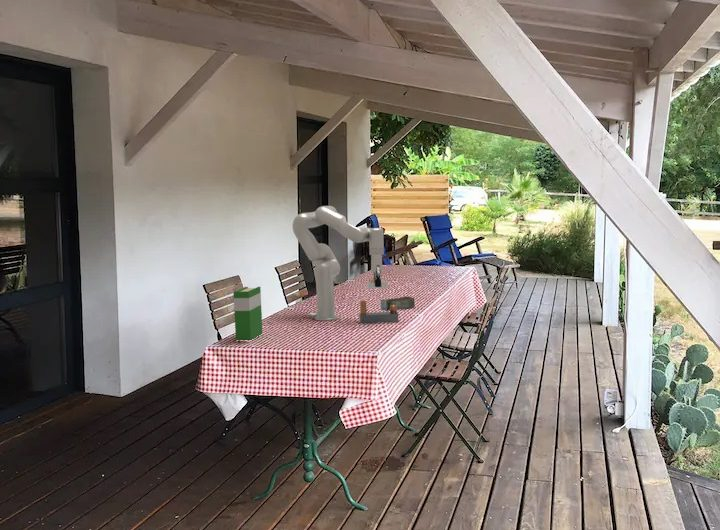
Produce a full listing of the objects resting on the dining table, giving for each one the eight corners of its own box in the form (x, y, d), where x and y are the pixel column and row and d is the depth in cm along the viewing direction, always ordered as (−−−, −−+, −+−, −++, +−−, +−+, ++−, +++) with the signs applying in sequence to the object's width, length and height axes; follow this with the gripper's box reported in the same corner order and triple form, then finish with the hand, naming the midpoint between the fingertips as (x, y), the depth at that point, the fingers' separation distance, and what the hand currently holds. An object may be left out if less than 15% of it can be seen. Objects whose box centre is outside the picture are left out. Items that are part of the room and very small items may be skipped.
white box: (368, 288, 372) (368, 280, 372) (367, 287, 377) (367, 278, 377) (387, 287, 373) (387, 279, 373) (386, 286, 378) (386, 278, 378)
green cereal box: (248, 334, 354) (245, 286, 352) (262, 334, 353) (260, 286, 350) (236, 342, 337) (233, 291, 334) (251, 342, 335) (248, 291, 333)
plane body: (360, 323, 373) (359, 302, 372) (359, 321, 380) (358, 300, 379) (398, 322, 375) (397, 300, 373) (396, 319, 381) (396, 298, 380)
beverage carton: (380, 309, 417) (379, 298, 416) (408, 306, 425) (408, 295, 424) (386, 311, 410) (386, 300, 409) (415, 308, 418) (415, 297, 417)
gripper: (367, 250, 381) (368, 284, 383) (371, 253, 365) (372, 288, 367) (381, 250, 382) (382, 283, 384) (385, 252, 365) (386, 288, 367)
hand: (377, 285), depth 375 cm, fingers closed on white box, 5 cm apart
